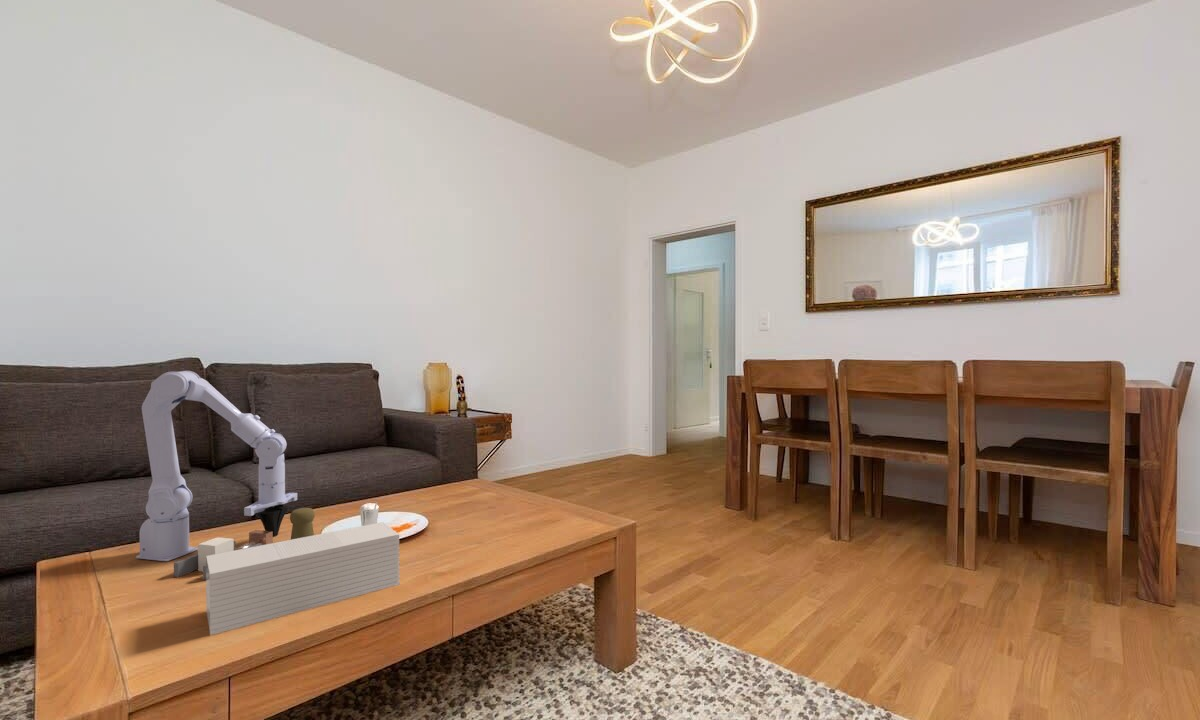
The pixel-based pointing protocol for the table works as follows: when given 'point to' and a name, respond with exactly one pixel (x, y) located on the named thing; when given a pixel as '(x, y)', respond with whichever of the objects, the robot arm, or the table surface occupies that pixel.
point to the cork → (302, 522)
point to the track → (193, 564)
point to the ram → (258, 538)
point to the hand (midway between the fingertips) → (272, 536)
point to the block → (213, 549)
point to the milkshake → (369, 513)
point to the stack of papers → (298, 574)
